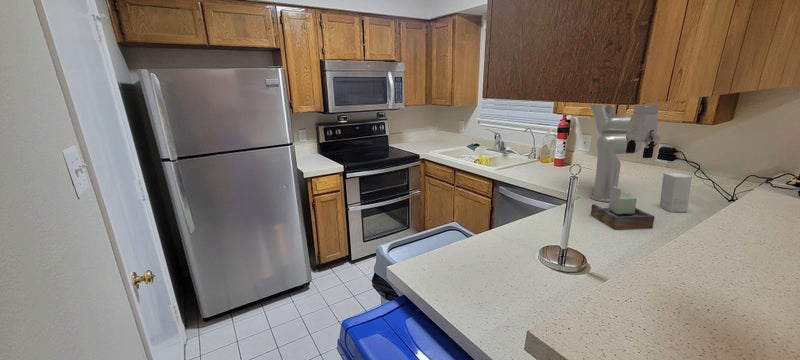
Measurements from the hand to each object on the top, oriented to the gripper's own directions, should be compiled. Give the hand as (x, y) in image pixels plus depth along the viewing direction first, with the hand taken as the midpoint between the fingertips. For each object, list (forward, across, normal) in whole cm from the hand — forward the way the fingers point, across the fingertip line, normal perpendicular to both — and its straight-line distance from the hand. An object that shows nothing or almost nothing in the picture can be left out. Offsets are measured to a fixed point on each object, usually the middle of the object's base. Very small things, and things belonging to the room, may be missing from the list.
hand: (638, 155), depth 125 cm
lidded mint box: (+23, +4, -6) cm, 24 cm away
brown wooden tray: (+26, +4, -6) cm, 27 cm away
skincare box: (+27, -8, +23) cm, 36 cm away
